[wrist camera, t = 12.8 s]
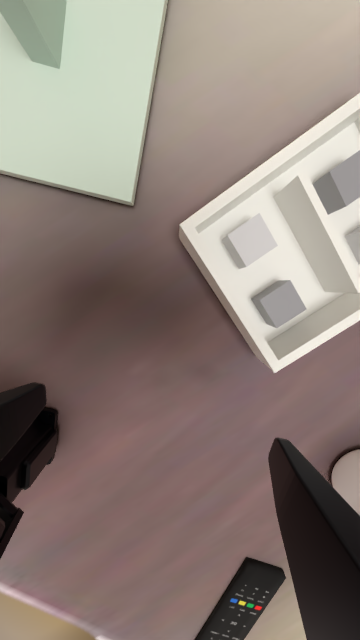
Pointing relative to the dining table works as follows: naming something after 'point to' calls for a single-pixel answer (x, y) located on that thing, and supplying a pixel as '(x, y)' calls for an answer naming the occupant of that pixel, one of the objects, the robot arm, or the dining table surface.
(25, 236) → the dining table surface
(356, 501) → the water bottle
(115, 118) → the lid
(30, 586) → the dining table surface
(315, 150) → the tub
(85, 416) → the dining table surface
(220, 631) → the remote control
